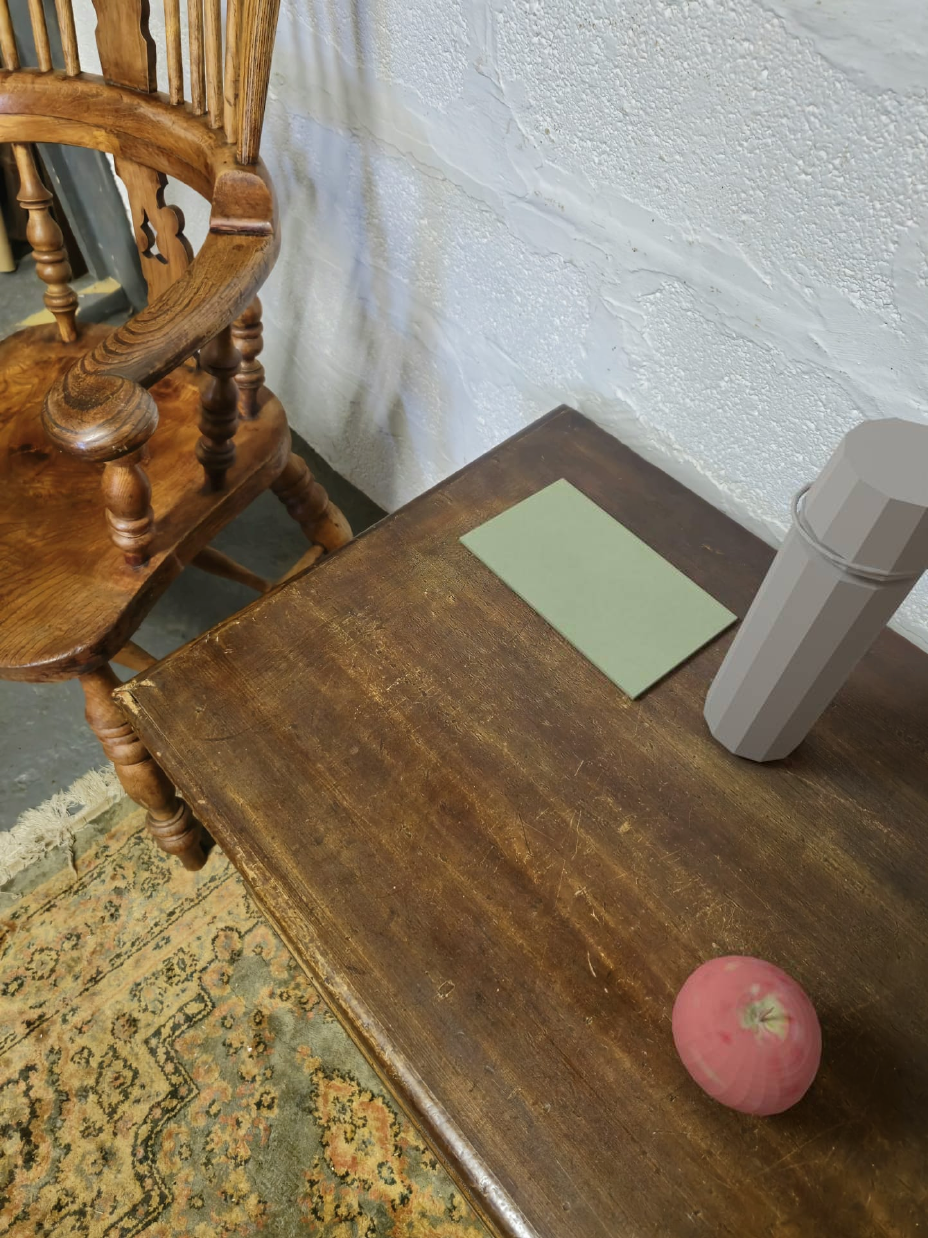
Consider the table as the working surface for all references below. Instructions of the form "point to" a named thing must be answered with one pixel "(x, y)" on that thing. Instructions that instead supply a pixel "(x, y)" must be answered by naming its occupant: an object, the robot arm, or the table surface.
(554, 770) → the table surface
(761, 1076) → the apple
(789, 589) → the water bottle
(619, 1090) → the table surface
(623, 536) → the mat
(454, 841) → the table surface
